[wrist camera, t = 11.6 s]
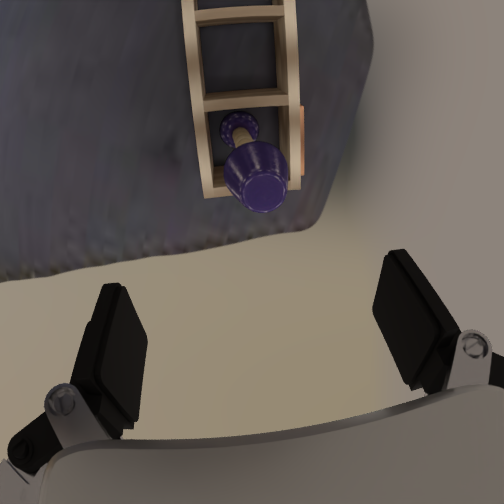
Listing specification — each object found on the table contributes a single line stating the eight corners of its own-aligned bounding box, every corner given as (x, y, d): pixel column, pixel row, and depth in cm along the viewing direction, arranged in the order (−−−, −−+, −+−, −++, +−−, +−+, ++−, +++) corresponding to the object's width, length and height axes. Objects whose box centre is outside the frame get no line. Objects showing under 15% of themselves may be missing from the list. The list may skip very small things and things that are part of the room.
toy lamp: (254, 103, 31) (284, 146, 18) (270, 140, 34) (308, 210, 20) (213, 120, 32) (208, 177, 18) (230, 156, 35) (239, 237, 21)
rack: (183, -48, 20) (176, -66, 15) (281, -53, 21) (294, -71, 16) (206, 175, 36) (204, 198, 31) (292, 167, 36) (305, 188, 31)
